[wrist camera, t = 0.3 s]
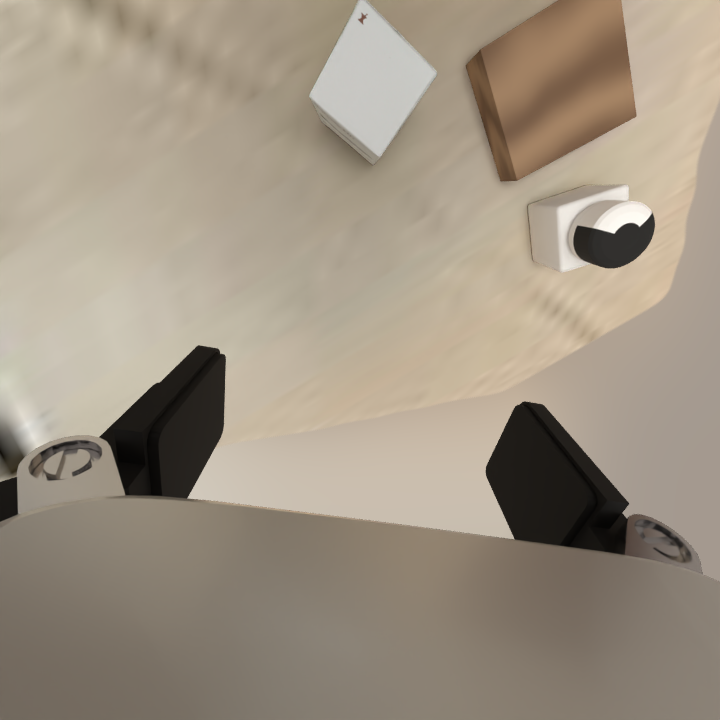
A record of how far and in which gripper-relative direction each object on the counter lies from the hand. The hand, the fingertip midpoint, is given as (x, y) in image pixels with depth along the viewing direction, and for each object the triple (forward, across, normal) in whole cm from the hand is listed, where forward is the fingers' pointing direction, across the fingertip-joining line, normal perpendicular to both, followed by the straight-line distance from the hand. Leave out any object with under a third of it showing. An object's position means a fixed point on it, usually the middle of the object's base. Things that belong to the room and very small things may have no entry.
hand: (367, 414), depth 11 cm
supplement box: (+36, +2, -14) cm, 39 cm away
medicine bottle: (+36, -24, -7) cm, 44 cm away
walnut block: (+37, -16, -19) cm, 44 cm away
